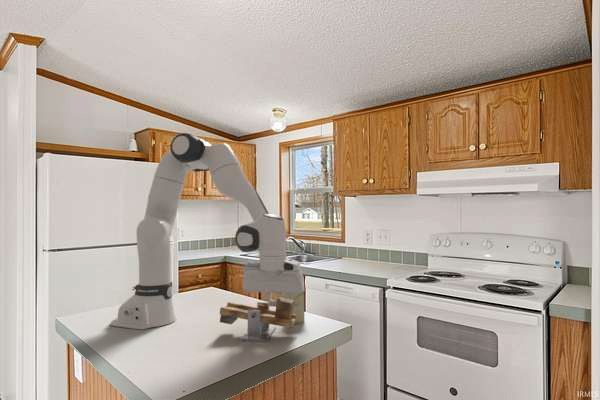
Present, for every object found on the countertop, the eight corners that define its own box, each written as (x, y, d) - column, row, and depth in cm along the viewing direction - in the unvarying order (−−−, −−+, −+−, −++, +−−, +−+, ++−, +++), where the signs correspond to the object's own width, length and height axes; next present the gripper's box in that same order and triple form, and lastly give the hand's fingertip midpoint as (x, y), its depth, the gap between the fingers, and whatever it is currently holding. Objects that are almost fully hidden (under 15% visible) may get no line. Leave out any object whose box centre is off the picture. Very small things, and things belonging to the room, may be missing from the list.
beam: (217, 323, 119) (220, 304, 119) (227, 315, 128) (229, 298, 128) (289, 337, 115) (292, 318, 115) (294, 328, 123) (297, 310, 123)
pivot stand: (241, 340, 115) (240, 311, 116) (253, 327, 128) (253, 300, 128) (265, 342, 114) (265, 312, 114) (275, 328, 127) (275, 301, 127)
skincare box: (290, 324, 131) (289, 290, 131) (284, 321, 135) (283, 288, 135) (305, 321, 134) (304, 288, 134) (298, 318, 138) (298, 286, 138)
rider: (274, 319, 118) (276, 301, 118) (277, 315, 123) (280, 297, 123) (289, 322, 117) (291, 303, 117) (291, 317, 122) (294, 299, 122)
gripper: (239, 264, 120) (239, 307, 119) (301, 265, 116) (302, 309, 116) (245, 261, 126) (245, 302, 125) (304, 262, 122) (305, 304, 122)
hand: (273, 306), depth 121 cm, fingers closed
